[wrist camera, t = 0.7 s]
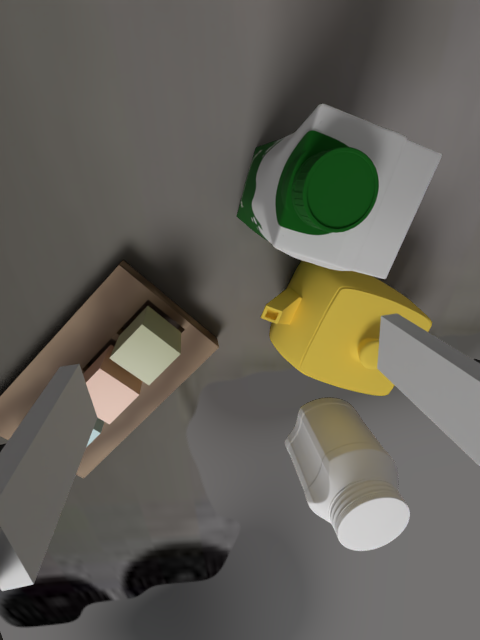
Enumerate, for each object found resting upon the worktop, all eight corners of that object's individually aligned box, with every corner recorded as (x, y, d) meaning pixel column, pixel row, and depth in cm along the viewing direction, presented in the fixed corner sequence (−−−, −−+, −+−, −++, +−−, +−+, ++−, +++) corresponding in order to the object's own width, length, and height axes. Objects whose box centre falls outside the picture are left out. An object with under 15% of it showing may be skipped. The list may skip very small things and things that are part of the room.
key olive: (119, 335, 35) (109, 358, 30) (147, 305, 34) (142, 324, 30) (153, 360, 37) (148, 385, 32) (181, 332, 36) (180, 353, 31)
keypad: (-13, 409, 39) (-25, 423, 37) (123, 259, 35) (119, 264, 33) (88, 463, 45) (83, 478, 42) (217, 338, 40) (219, 347, 38)
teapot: (229, 328, 40) (245, 381, 29) (269, 232, 37) (304, 252, 26) (361, 370, 46) (416, 427, 35) (408, 289, 42) (485, 326, 31)
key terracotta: (83, 372, 36) (69, 400, 31) (110, 344, 35) (99, 368, 31) (118, 395, 38) (109, 424, 33) (145, 368, 37) (139, 394, 32)
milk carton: (249, 134, 32) (333, 70, 14) (330, 164, 35) (491, 142, 16) (225, 222, 35) (269, 264, 17) (301, 245, 38) (412, 302, 19)
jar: (333, 462, 52) (386, 563, 38) (278, 454, 49) (314, 558, 36) (365, 403, 48) (436, 490, 34) (307, 391, 46) (359, 480, 32)
